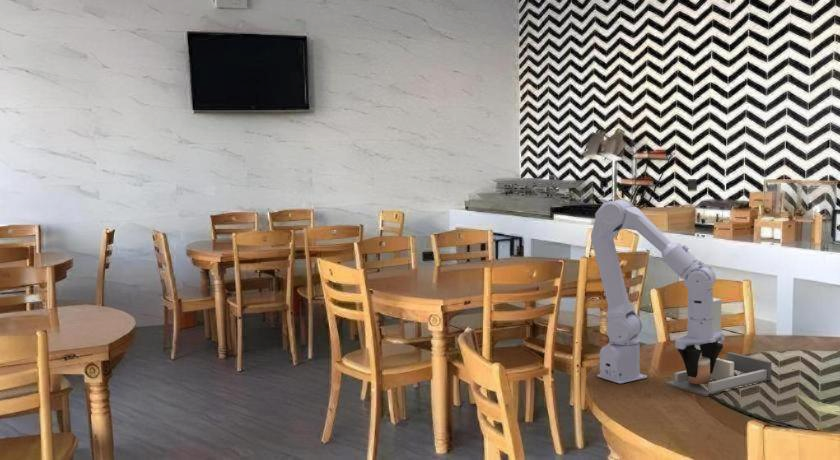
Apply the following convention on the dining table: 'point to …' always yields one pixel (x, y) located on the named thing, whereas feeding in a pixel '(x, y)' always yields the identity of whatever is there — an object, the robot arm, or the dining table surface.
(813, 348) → the dining table surface
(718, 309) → the skincare box
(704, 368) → the jar
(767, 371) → the lane
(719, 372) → the follower
